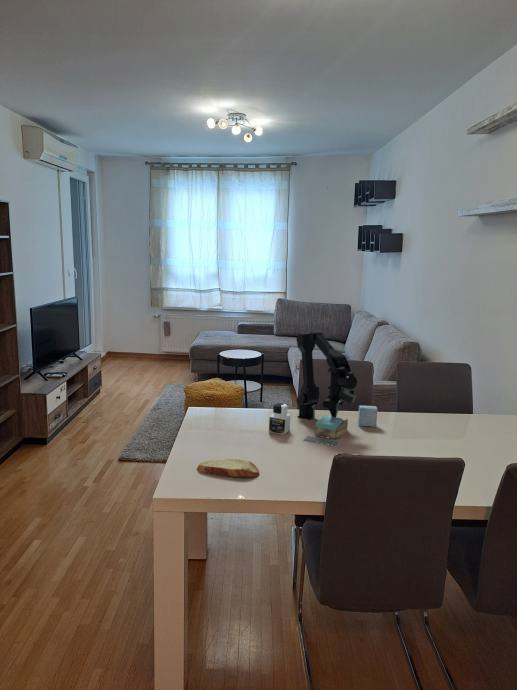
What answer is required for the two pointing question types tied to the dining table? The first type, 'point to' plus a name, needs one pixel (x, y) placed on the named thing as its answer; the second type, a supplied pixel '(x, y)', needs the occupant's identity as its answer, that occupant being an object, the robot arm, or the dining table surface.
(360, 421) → the medicine box
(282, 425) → the medicine bottle
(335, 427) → the cover plate
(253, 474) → the slice of bread
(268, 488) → the dining table surface
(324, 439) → the grey mat
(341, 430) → the wooden box
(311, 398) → the robot arm
